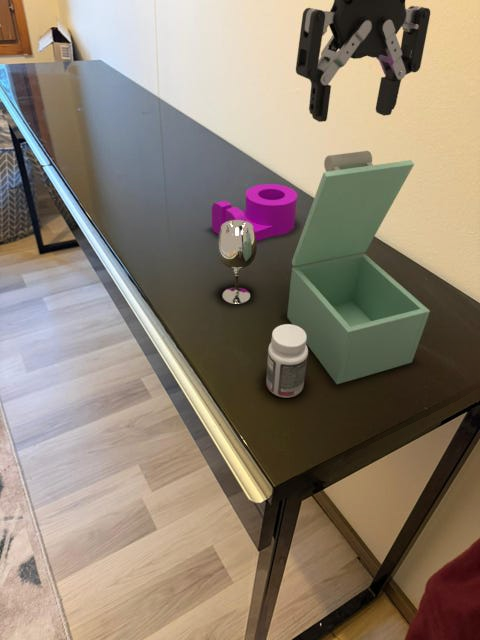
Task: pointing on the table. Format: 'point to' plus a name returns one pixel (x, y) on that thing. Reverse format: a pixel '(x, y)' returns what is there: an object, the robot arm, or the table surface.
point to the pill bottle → (287, 361)
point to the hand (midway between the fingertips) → (351, 116)
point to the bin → (355, 316)
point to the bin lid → (349, 206)
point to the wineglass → (236, 254)
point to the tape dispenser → (261, 211)
